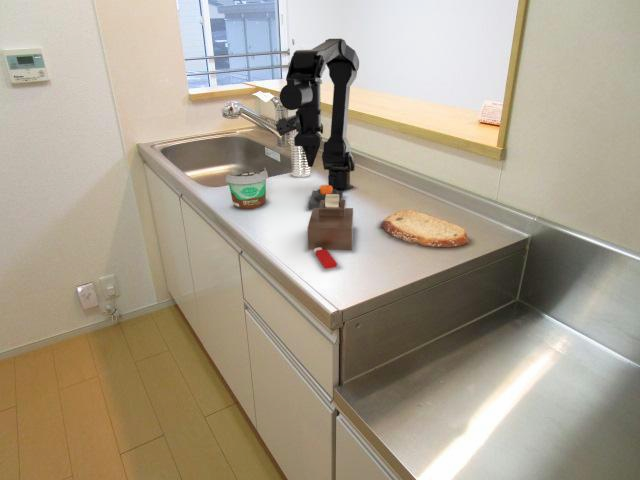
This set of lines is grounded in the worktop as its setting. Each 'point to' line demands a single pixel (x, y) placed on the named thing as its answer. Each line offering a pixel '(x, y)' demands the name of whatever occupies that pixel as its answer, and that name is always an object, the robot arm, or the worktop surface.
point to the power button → (325, 189)
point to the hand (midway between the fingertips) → (310, 166)
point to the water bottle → (297, 155)
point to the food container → (248, 189)
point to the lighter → (325, 258)
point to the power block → (321, 198)
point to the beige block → (332, 200)
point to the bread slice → (424, 229)
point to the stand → (331, 227)
